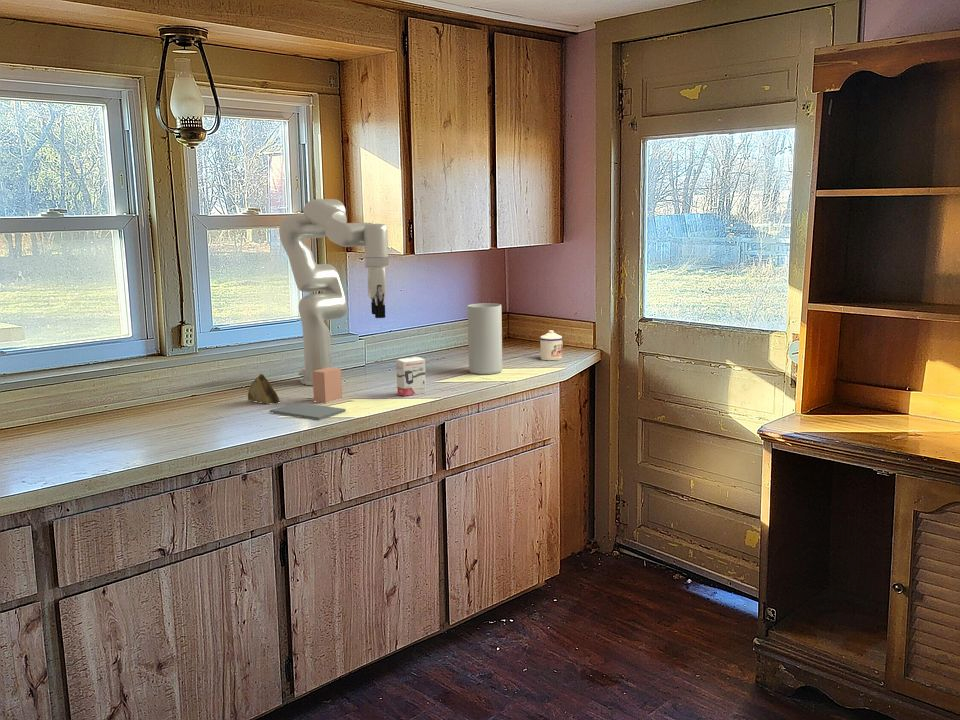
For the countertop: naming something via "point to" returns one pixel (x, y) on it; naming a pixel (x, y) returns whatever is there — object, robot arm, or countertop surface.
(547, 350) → the teacup with lid
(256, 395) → the rock
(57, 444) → the countertop surface
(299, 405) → the mat
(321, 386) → the terracotta block
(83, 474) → the countertop surface
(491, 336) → the cylinder vase
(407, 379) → the ink box
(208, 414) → the countertop surface
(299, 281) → the robot arm
